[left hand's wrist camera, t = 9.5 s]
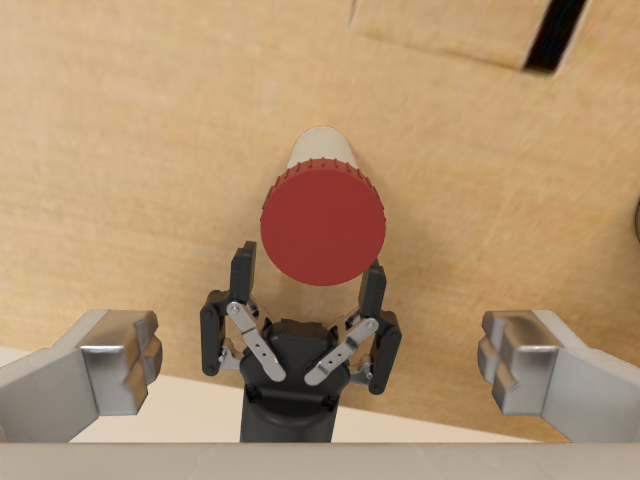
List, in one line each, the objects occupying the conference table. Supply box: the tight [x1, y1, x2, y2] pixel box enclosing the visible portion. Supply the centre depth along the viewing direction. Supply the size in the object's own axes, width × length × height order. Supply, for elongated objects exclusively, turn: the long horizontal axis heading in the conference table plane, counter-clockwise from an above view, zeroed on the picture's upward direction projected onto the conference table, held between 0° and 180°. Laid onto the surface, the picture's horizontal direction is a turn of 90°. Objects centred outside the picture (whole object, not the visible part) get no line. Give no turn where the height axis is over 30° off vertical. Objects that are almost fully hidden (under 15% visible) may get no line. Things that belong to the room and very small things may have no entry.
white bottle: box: [285, 126, 358, 172], centre depth 25 cm, size 4×4×16 cm
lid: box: [260, 157, 386, 286], centre depth 18 cm, size 5×5×2 cm
